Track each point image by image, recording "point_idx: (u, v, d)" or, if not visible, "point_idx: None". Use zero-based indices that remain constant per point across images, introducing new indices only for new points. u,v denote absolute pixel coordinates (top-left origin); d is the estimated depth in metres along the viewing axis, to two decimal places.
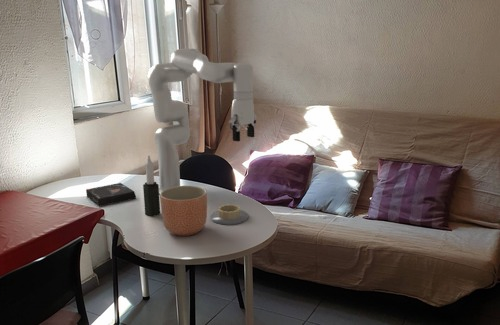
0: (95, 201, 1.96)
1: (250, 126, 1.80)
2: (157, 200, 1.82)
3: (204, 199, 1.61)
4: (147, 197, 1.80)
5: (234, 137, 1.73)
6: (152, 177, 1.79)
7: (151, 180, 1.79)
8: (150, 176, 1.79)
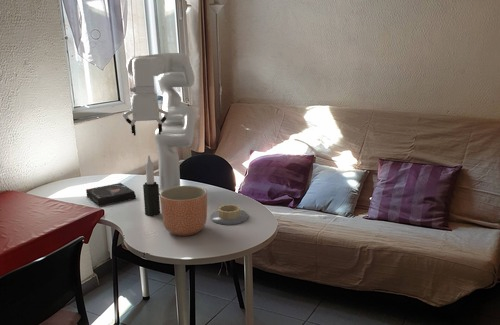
0: (95, 201, 1.96)
1: None
2: (157, 200, 1.82)
3: (204, 199, 1.61)
4: (147, 197, 1.80)
5: (162, 129, 1.76)
6: (152, 177, 1.79)
7: (151, 180, 1.79)
8: (150, 176, 1.79)
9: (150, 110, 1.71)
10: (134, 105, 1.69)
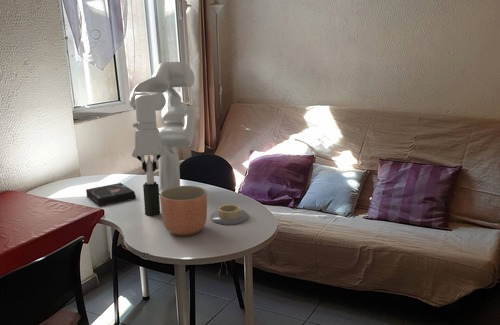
0: (95, 201, 1.96)
1: (144, 160, 1.78)
2: (157, 200, 1.82)
3: (204, 199, 1.61)
4: (147, 197, 1.80)
5: (156, 166, 1.80)
6: (152, 177, 1.79)
7: (151, 180, 1.79)
8: (150, 176, 1.79)
9: (152, 145, 1.74)
10: (137, 140, 1.73)
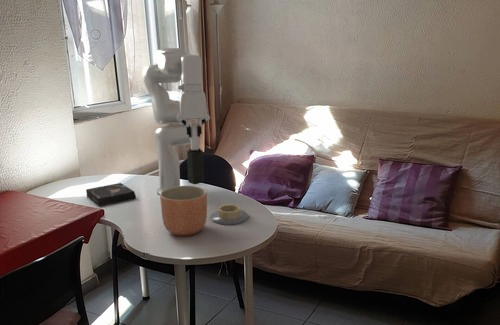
0: (95, 201, 1.96)
1: (189, 125, 1.72)
2: (201, 167, 1.75)
3: (204, 199, 1.61)
4: (191, 163, 1.73)
5: None
6: (197, 143, 1.73)
7: (195, 146, 1.73)
8: (195, 142, 1.72)
9: (198, 108, 1.68)
10: (182, 103, 1.66)
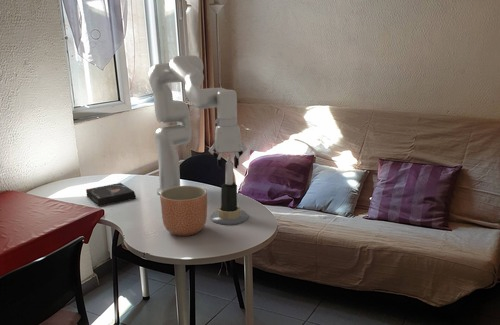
0: (95, 201, 1.96)
1: (220, 157, 1.73)
2: (235, 201, 1.77)
3: (204, 199, 1.61)
4: (225, 197, 1.75)
5: None
6: (231, 177, 1.74)
7: (230, 181, 1.74)
8: (230, 177, 1.74)
9: (233, 142, 1.69)
10: (218, 137, 1.68)
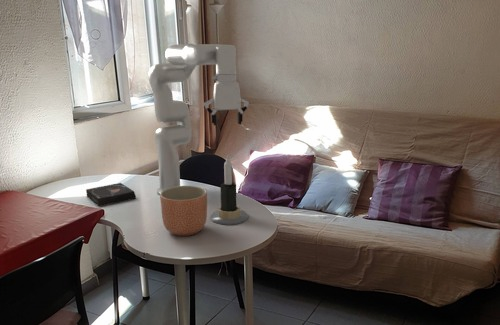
0: (95, 201, 1.96)
1: (214, 113, 1.68)
2: (234, 201, 1.77)
3: (204, 199, 1.61)
4: (225, 198, 1.75)
5: None
6: (230, 177, 1.75)
7: (229, 181, 1.75)
8: (229, 177, 1.74)
9: (232, 99, 1.65)
10: (217, 94, 1.64)
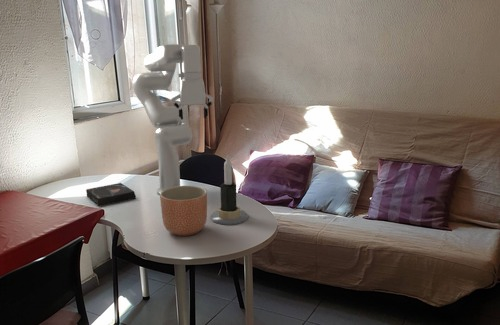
0: (95, 201, 1.96)
1: None
2: (234, 201, 1.77)
3: (204, 199, 1.61)
4: (225, 197, 1.75)
5: (207, 114, 1.84)
6: (230, 177, 1.75)
7: (229, 181, 1.75)
8: (229, 177, 1.74)
9: (197, 95, 1.79)
10: (182, 90, 1.77)
